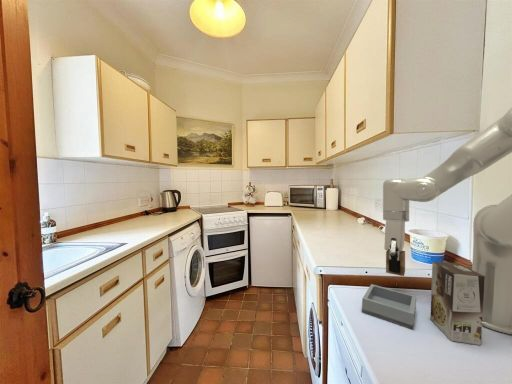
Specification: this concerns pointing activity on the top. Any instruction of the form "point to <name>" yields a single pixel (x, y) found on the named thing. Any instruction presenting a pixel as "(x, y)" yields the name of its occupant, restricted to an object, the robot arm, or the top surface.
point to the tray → (390, 305)
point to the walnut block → (402, 263)
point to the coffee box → (457, 302)
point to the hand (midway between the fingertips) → (395, 269)
